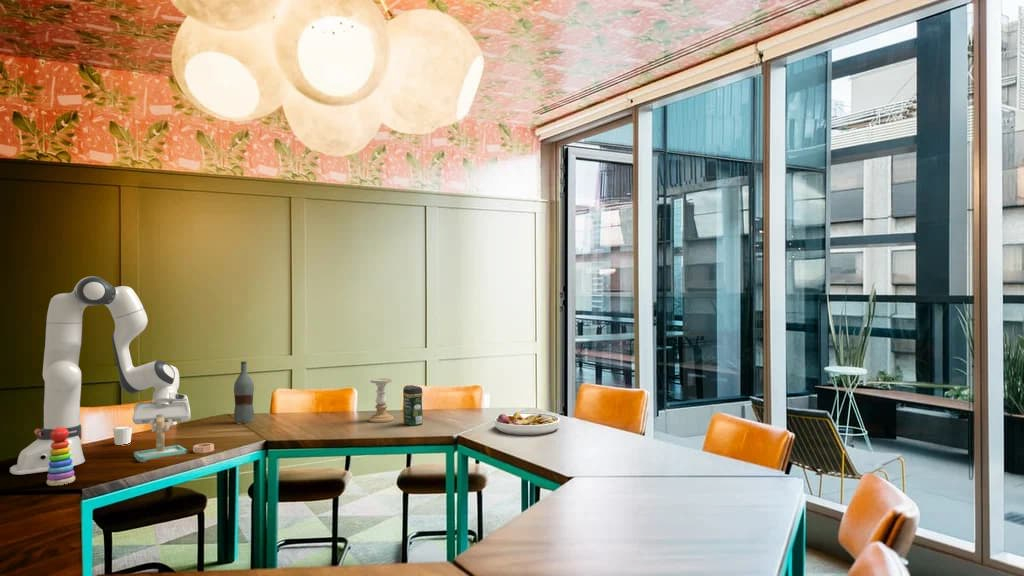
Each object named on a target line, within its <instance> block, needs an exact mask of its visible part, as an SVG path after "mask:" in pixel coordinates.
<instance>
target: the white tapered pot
mask: <svg viewBox="0 0 1024 576" xmlns="http://www.w3.org/2000/svg"><path fill="white" fill-rule="evenodd" d="M112 430H113V431H112V432H113V438H114V440H113V441H114V445H115V444H116V445H122V446H124V445H123V444H128V443H130V442H131V440H132V434H133V433H132V432H133V431H132V430H133V426H132V425H131V426H130V425H128V426H127V425H125V426H124V425H123V426H118V427H116V426H115V427H114V428H113V429H112ZM130 444H131V443H130ZM116 445H115V446H116ZM128 445H129V444H128Z"/></svg>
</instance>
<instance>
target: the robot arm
mask: <svg viewBox="0 0 1024 576" xmlns="http://www.w3.org/2000/svg"><path fill="white" fill-rule="evenodd" d="M102 305H104V306H105V307H106V308H107V309H108V310H109V313H110V314H111V317H112V318H113V320H114V321H113V322H114V332H112V334H111V343H112V349H113V353H114V356H115V357H114V358H115V361H116V365H117V370H118V378H119V379H118V380H119V385H120V388H121V389H122V390H123V391H124V392H127V393H129V394H132V395H134V394H137V393H140V392H142V391H144V390H147V389H150V388H151V389H152V388H154V392H153V394H152V400H151V401H147V402H142V401H141V402H139V403H137V404H135V405H134V408H133V415H132V422H133V424H134V425H145V424H146V425H148V424H150V427H151V432H152V433H154V432H155V433H156V415H159V414H164V423H167V424H164V432H168V431H169V428H170V427H172V425H173V423H175V422H176V423H177V422H188V421H190V420H191V417H192V416H191V413H192V411H191V406H190V400H189V398H188V395H186V394H183V393H178V390H179V388H180V372H179V370H178V367H176V366H174V365H171V364H168V363H167V362H165V361H164V360H160V359H157V360H153V361H150V362H147V363H145V364H142V365H139V366H136V367H135V366H134V365H133V361H132V356H131V354H130V353H131V352H130V345H131V342H132V341H133V340H134V339H135V338H136V337H137V336H139V335H140V334H141V333H142V332H144V330H145V329H146V327H147V325H148V322H149V319H148V315H147V312H146V310H145V308H144V306H143V304H142V301H141V300H140V298H139V296H138V295H137V293H136V292H135V291H134V289H133V288H132V287H130V286H127V285H121V286H116V287H115V286H114V285H112V284H110V283H109V282H108V281H106V280H105V279H103V278H101V277H98V276H86V277H84V278H81V279H80V280H79V281H78V282H77V283H76V284H75V286H74V288H73V289H72V290H71V291H70V292H63V293H58V294H55V295H54V296H53V297H51V298H50V302H49V304H48V309H47V314H46V322H45V323H46V326H45V343H44V344H45V346H44V352H43V353H44V354H43V364H42V366H43V367H42V379H43V381H44V399H43V400H44V401H43V427H42V428H41V429H40V428H36V429H35V430H34V434H35V435H36V440H35V441H33V442H31V444H29V445H28V446H27V447H25V448H24V449H22V450H21V451H20V453H19V455H18V458H17V462H16V463H17V464H14V465H12V466H11V467H9V473H11V474H12V475H26V474H27V475H28V474H36V473H44V472H48V468H49V467H50V466H49V462H50V461H51V460H50V459H49V457H50V455H51V454H50V450H51V449H53V448H51V444H52V443H53V442H54V441H53V440H52V439H51V437H50V434H51V432H52V431H53V430H54V429H55V428H58V427H64V428H66V429H67V430H68V432H69V435H68V438H67V439H66V440H65V441H68V442H69V445H68V446H67V447H69V448H70V451H69V453H70V454H71V457H70V458H71V459H72V463H71V464H73V467H74V466H78V465H81V464H84V463H85V462H86V459H85V456H84V454H83V453H84V452H83V449H82V442H81V440H82V437H83V436H82V435H83V432H82V431H83V430H82V429H83V428H82V424H81V419H80V418H81V413H80V412H81V396H82V395H81V393H82V389H81V388H82V370H81V369H80V367H79V362H80V354H81V347H82V337H83V335H82V334H83V314H84V311H85V309H86V308H87V307H88V306H92V307H93V306H102Z"/></svg>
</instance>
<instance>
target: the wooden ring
mask: <svg viewBox="0 0 1024 576" xmlns="http://www.w3.org/2000/svg"><path fill="white" fill-rule="evenodd" d="M213 451H215V444H214V443H212V442H209V443H208V442H204V443H198V444H195V445H193V447H192V452H193V453H194V454H205V453H210V452H213Z"/></svg>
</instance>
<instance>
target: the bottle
mask: <svg viewBox="0 0 1024 576" xmlns="http://www.w3.org/2000/svg"><path fill="white" fill-rule="evenodd" d="M247 371H248V370H247V361H240V374H239V375H238V377H237V378H236V379H235V382H234V385H233V393H234V409H233V411H234V412H233V418H234V423H235V424H236V423H248V424H250V423H249V422H252V423H253V422H254V418H255V411H254V410H255V409H254V392H255V391H254V390H255V388H254V380H253V379H252V378H251V376H250V375H249V373H248V372H247Z"/></svg>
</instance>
